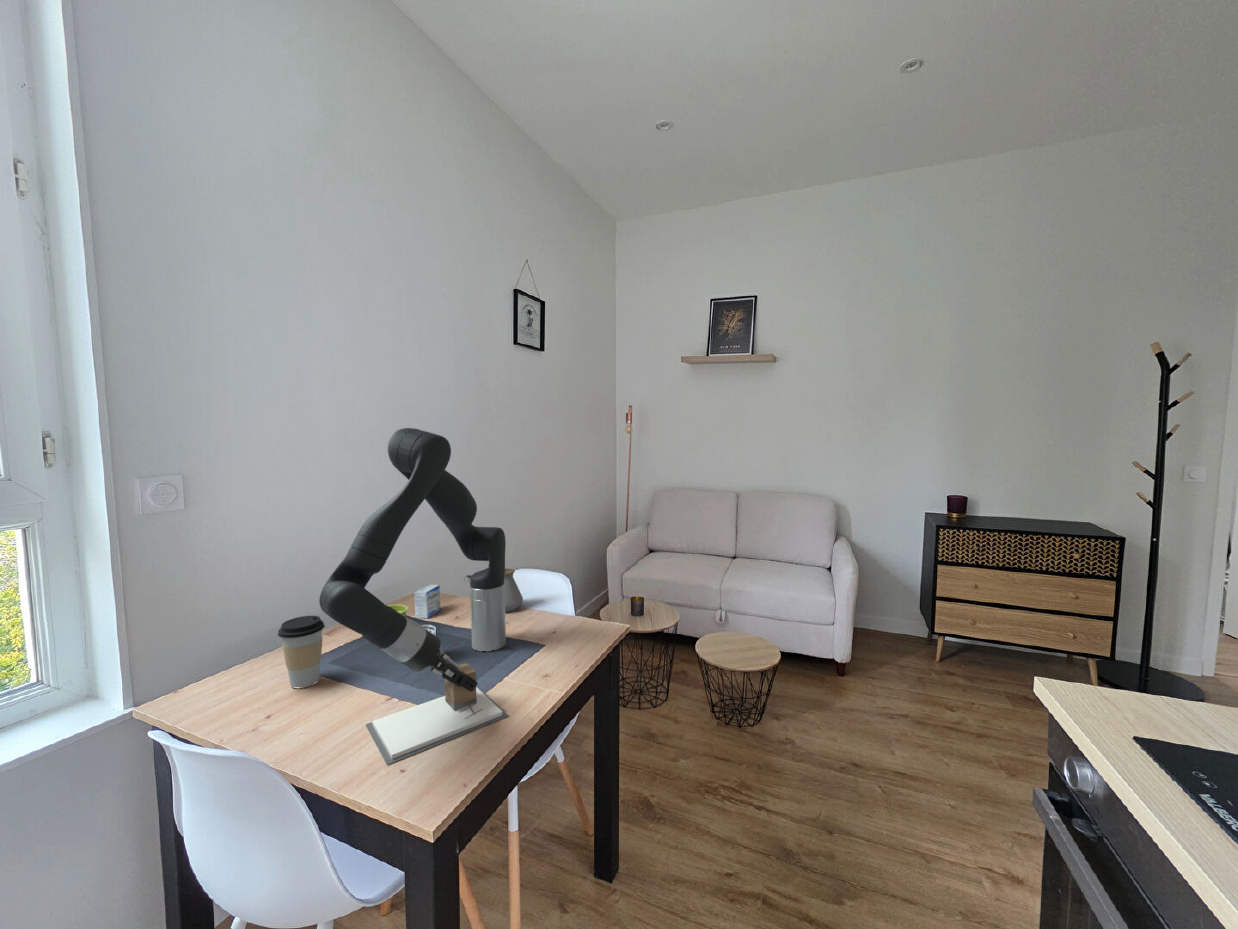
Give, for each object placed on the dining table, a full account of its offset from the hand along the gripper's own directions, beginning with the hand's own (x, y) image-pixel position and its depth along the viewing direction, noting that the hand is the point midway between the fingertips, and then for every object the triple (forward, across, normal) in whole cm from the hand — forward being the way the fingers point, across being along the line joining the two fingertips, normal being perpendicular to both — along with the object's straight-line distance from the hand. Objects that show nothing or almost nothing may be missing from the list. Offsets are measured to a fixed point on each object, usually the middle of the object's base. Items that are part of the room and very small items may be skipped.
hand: (469, 681), depth 111 cm
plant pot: (+1, +47, +6) cm, 48 cm away
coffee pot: (+23, +47, -16) cm, 55 cm away
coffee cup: (-15, +34, +23) cm, 44 cm away
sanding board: (-2, -2, +9) cm, 9 cm away
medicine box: (+11, +60, -4) cm, 62 cm away
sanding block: (+1, 0, +4) cm, 4 cm away
